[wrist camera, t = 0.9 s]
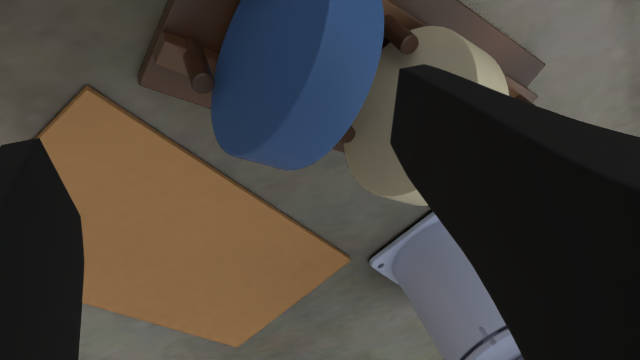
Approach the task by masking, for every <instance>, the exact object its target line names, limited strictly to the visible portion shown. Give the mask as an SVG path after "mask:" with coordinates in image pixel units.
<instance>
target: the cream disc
mask: <svg viewBox="0 0 640 360" xmlns="http://www.w3.org/2000/svg"><path fill="white" fill-rule="evenodd" d="M410 31H411V32H412V33H413V34H414V35H415V36H417V38H418V41H419V44H418V47H417V49H416V50H415V51H414V52H413V53H411V54H408V55H405V54H402V53H401V52H400V51H399V50H398V49H397V48H396V47H395V46H394V45H393V44H392V43H391V42H390V43H389V44H388V45H387V46H385V47H384V48H383V49H382V51H381V56H380V60H379V64H378V68H377V71H376V74H375V77H374V80H373V83H372V86H371V88H370V90H369V93H368V95H367V97H366V100H365V102H364V104H363V106H362V107H361V109H360V111H359V113H358V115H357V117H356V118H355V120H354V121H353V123H352V125H351V126H352V127H353V128H354V130H355V137H354V139H353V140H352V141H350V142H349V143H344V151H345V156H346V161H347V164H348V167H349V169H350V171H351V173H352V175H353V177H354V178H355V179H356V181H357V182H358V183H359V184H360V185H361V186H362V187H363V188H364V189H366V190H367V191H369V192H371V193H373V194H375V195H378V196H382V197H385V198H389V199H393V200H396V201H400V202H404V203H407V204H412V205H416V206H428V204H427V203H426V202H425V200H424V199H423V198H422V196H421V195H420V193H419V192H418V191H417V189H416V188H415V187H414V185H413V184H412V182H411V181H410V180H409V178H408V176H407V175H406V173H405V171H404V169H403V168H402V166H401V164H400V162H399V160H398V158H397V156H396V154H395V152H394V150H393V148H392V146H391V144H390V138H391V130H392V122H393V115H394V107H395V99H396V91H397V83H398V76H399V69H401V68H406V67H411V66H416V65H422V64H426V65H429V66H433V67H436V68H439V69H442V70H445V71H448V72H450V73H453V74H456V75H458V76H461V77H463V78H466V79H468V80H471V81H473V82H476V83H478V84H481V85H483V86H486V87H488V88H491V89H493V90H496V91H498V92H501V93H503V94H506V95H508V96H509V91H508V85H507V82H506V79H505V76H504V74H503V72H502V70H501V68H500V66H499V65H498V64H497V62H496V61H495V60H494V59H493V58H492V57H491V56H490V55H489V54H488V53H486V52H485V51H483V50H482V49H480V48H479V47H477V46H476V45H474V44H473V43H471V42H470V41H468V40H467V39H465V38H464V37H462V36H461V35H459V34H457V33H456V32H454V31H452V30H450V29H447V28H445V27H439V26H425V27H420V28H416V29H413V30H410Z"/></svg>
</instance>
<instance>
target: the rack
mask: <svg viewBox="0 0 640 360" xmlns="http://www.w3.org/2000/svg"><path fill="white" fill-rule="evenodd" d="M240 1H241V0H168V3H167V5H166V7H165V10H164V12H163V15H162V17H161V19H160V22H159V24H158V27H157V29H156V32H155V34H154V36H153V39H152V41H151V44H150V46H149V49H148V51H147V53H146V56H145V58H144V61H143V63H142V66H141V68H140V70H139V73H138V82H139V85H141V86H144V87H147V88H150V89H153V90H156V91H159V92H162V93H165V94H168V95H171V96H174V97H177V98H180V99H183V100H186V101H189V102H192V103H195V104H198V105H201V106H204V107H207V108H210V109H211V100H212V90H213V88H214V86H215V80H214V75H215V71H216V66H217V62H218V58H219V54H220V51H221V47H222V44H223V41H224V38H225V35H226V33H227V30H228V27H229V25H230V22H231V20H232V18H233V15H234V13H235V11H236V9H237V7H238V5H239V3H240ZM382 4H383V10H384V38H383V44H382V49H383V48H384V47H385V46H387V45H388V44H389V43H390V42H391V43H392V44H393V45H394V46H395V47H396V48H397V49H398V50H399V51H400V52H401V53H402V54H405V55H408V54H411V53H413V52H414V51H415V50H416V49H417V47H418V44H419V41H418V38H417V36H415V35H414V34H413V33H412V32H411V31H410V30H413V29H416V28H420V27H425V26H439V27H445V28H447V29H450V30H452V31H454V32H456V33H457V34H459V35H461V36H462V37H464V38H465V39H467V40H468V41H470V42H471V43H473V44H474V45H476V46H477V47H479V48H480V49H482V50H483V51H485V52H486V53H488V54H489V55H490V56H491V57H492V58H493V59H494V60H495V61H496V62H497V64H498V65H499V66H500V68H501V70H502V72H503V74H504V76H505V79H506V82H507V85H508V91H509V96H511V97H513V98H516V99H518V100H521V101H524V102H526V103H529V104H532V105H534V104H533V102H534V101H535V100H536V99H537V98H538V95H536V94H535V93H534V92H532V91H531V90H530V89H528V88H527V86H528V85H529V84H530V83H531V82H532V80H533V79H534V78H535V77H536V76H537V75H538V73H539V72H540V71H541V70H542V69H543V68H544V66H545V63H543V62H542V61H540V60H539V59H538V58H536V57H535V56H534V55H532V54H531V53H529V52H528V51H527V50H525V49H524V48H523V47H521V46H520V45H518V44H517V43H516V42H514V41H513V40H512V39H510V38H509V37H508V36H506V35H505V34H503V33H502V32H501V31H499V30H498V29H497V28H495V27H494V26H492V25H491V24H490V23H488V22H487V21H486V20H484V19H483V18H481V17H480V16H479V15H477V14H476V13H475V12H473V11H472V10H471V9H469V8H468V7H466V6H465V5H464V4H462V3H461V2H460V1H458V0H382ZM534 106H535V105H534ZM354 137H355V130H354V128H353V127H352V126H350V128H349V129H348V130H347V132H346V133H345V134H344V136H343V137H342V138H341V139H340V141H339V142H338V143H337V144H336V145H335V146H334V147H333V148H332V149H335V150H338V151H341V152H344V153H345V151H344V143H349V142H350V141H352V140H353V139H354Z"/></svg>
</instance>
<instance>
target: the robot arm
mask: <svg viewBox="0 0 640 360" xmlns="http://www.w3.org/2000/svg"><path fill="white" fill-rule="evenodd" d="M390 144H391V146H392V148H393V150H394V152H395V154H396V156H397V158H398V160H399V162H400V164H401V166H402V168H403V169H404V171H405V173H406V175H407V176H408V178H409V180H410V181H411V182H412V184H413V185H414V187H415V188H416V189H417V191H418V192H419V193H420V195H421V196H422V198H423V199H424V200H425V202H426V203H427V204H428V206H429V207H430V208H431V210H432V211H433V212H431V213H430V214H429V215H427V216H426V217H425V218H423V219H422V220H421V221H420V222H418V223H417V224H416V225H414V226H413V227H412V228H410V229H409V230H408V231H406V232H405V233H404V234H402V235H401V236H400V237H398V238H397V239H396V240H394V241H393V242H392V243H391V244H389V245H388V246H387V247H385V248H384V249H383V250H381V251H380V252H379V253H377V254H376V255H375V256H373V257H372V258H371V259H370V261H369V263H370V265H371V267H372V268H374V269H375V270H377V271H378V272H380V273H381V274H383V275H384V276H386V277H387V278H389V279H390V280H392V281H393V282H395V283H396V284H398V285H399V286H401V287H402V289H403V291H404V293H405V294H406V296H407V298H408V299H409V301H410V303H411V305H412V306H413V308H414V310H415V311H416V313H417V315H418V317H419V318H420V320H421V322H422V323H423V325H424V327H425V329H426V330H427V332H428V334H429V335H430V337H431V339H432V341H433V342H434V344H435V346H436V347H437V349H438V351H439V353H440V354H441V356H442V358H443V359H444V360H640V137H636V136H632V135H628V134H624V133H621V132H617V131H613V130H610V129H606V128H602V127H599V126H595V125H592V124H588V123H585V122H581V121H578V120H575V119H572V118H569V117H566V116H563V115H560V114H557V113H554V112H551V111H549V110H546V109H543V108H540V107H537V106H534V105H532V104H529V103H526V102H524V101H521V100H518V99H516V98H513V97H511V96H508V95H506V94H503V93H501V92H498V91H496V90H493V89H491V88H488V87H486V86H483V85H481V84H478V83H476V82H473V81H471V80H468V79H466V78H463V77H461V76H458V75H456V74H453V73H450V72H448V71H445V70H442V69H439V68H436V67H433V66H429V65H426V64H422V65H416V66H411V67H406V68H401V69H399V76H398V83H397V91H396V99H395V107H394V115H393V122H392V130H391V138H390ZM84 263H85V261H84V246H83V235H82V224H81V216H80V214H79V212H78V210H77V208H76V206H75V204H74V203H73V201H72V199H71V197H70V195H69V193H68V191H67V189H66V187H65V185H64V184H63V182H62V180H61V178H60V176H59V174H58V172H57V170H56V168H55V166H54V165H53V163H52V161H51V159H50V157H49V155H48V153H47V151H46V149H45V148H44V146H43V144H42V142H41V140H40V138H37V139H31V140H26V141H21V142H16V143H11V144H5V145H2V146H1V147H0V360H78V355H79V340H80V326H81V312H82V297H83V281H84Z"/></svg>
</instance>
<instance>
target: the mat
mask: <svg viewBox="0 0 640 360" xmlns="http://www.w3.org/2000/svg"><path fill="white" fill-rule="evenodd" d="M37 138H40V140H41V142H42V144H43V146H44V148H45V149H46V151H47V153H48V155H49V157H50V159H51V161H52V163H53V165H54V166H55V168H56V170H57V172H58V174H59V176H60V178H61V180H62V182H63V184H64V185H65V187H66V189H67V191H68V193H69V195H70V197H71V199H72V201H73V203H74V204H75V206H76V208H77V210H78V212H79V214H80V216H81V224H82V235H83V246H84V261H85V263H84V281H83V297H82V303H84V304H87V305H91V306H94V307H98V308H101V309H105V310H108V311H112V312H115V313H119V314H122V315H126V316H129V317H133V318H136V319H140V320H143V321H147V322H150V323H153V324H157V325H160V326H164V327H167V328H171V329H174V330H178V331H181V332H185V333H188V334H192V335H195V336H199V337H202V338H206V339H209V340H213V341H216V342H219V343H223V344H226V345H230V346H233V347H239V346H240V345H241V344H243V343H244V342H245V341H247V340H248V339H249V338H251V337H252V336H253V335H254V334H256V333H257V332H258V331H260V330H261V329H262V328H264V327H265V326H266V325H268V324H269V323H270V322H271V321H273V320H274V319H275V318H277V317H278V316H279V315H281V314H282V313H283V312H284V311H286V310H287V309H288V308H290V307H291V306H292V305H294V304H295V303H296V302H298V301H299V300H300V299H301V298H303V297H304V296H305V295H307V294H308V293H309V292H311V291H312V290H313V289H315V288H316V287H317V286H318V285H320V284H321V283H322V282H324V281H325V280H326V279H328V278H329V277H330V276H331V275H333V274H334V273H335V272H337V271H338V270H339V269H341V268H342V267H343V266H345V265H346V264H347V263H348V262H350V261H351V259H350V257H349V256H348V255H346V254H345V253H343V252H342V251H340V250H339V249H337V248H336V247H334V246H333V245H331V244H329V243H328V242H326V241H325V240H323V239H322V238H320V237H319V236H317V235H316V234H314V233H313V232H311V231H310V230H308V229H307V228H305V227H303V226H302V225H300V224H299V223H297V222H296V221H294V220H293V219H291V218H290V217H288V216H287V215H285V214H284V213H282V212H281V211H279V210H277V209H276V208H274V207H273V206H271V205H270V204H268V203H267V202H265V201H264V200H262V199H261V198H259V197H258V196H256V195H255V194H253V193H251V192H250V191H248V190H247V189H245V188H244V187H242V186H241V185H239V184H238V183H236V182H235V181H233V180H232V179H230V178H229V177H227V176H225V175H224V174H222V173H221V172H219V171H218V170H216V169H215V168H213V167H212V166H210V165H209V164H207V163H206V162H204V161H203V160H201V159H199V158H198V157H196V156H195V155H193V154H192V153H190V152H189V151H187V150H186V149H184V148H183V147H181V146H180V145H178V144H177V143H175V142H173V141H172V140H170V139H169V138H167V137H166V136H164V135H163V134H161V133H160V132H158V131H157V130H155V129H154V128H152V127H151V126H149V125H147V124H146V123H144V122H143V121H141V120H140V119H138V118H137V117H135V116H134V115H132V114H131V113H129V112H128V111H126V110H124V109H123V108H121V107H120V106H118V105H117V104H115V103H114V102H112V101H111V100H109V99H108V98H106V97H105V96H103V95H102V94H100V93H98V92H97V91H95V90H94V89H92V88H91V87H89V86H88V85H87V86H85V87H84V88H83V89H82V90H81V92H80V93H79V94H78V95H77V96H76V97H75V98H74V99H73V100H72V101H71V102H70V103H69V104H68V105H67V106H66V107H65V108H64V109H63V110H62V111H61V112H60V113H59V114H58V115H57V116H56V117H55V118H54V119H53V120H52V121H51V122H50V123H49V124H48V125H47V126H46V127H45V128H44V129H43V130H42V131H41V132H40V133H39V134H38V135H37V137H36V138H35V139H37Z"/></svg>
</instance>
